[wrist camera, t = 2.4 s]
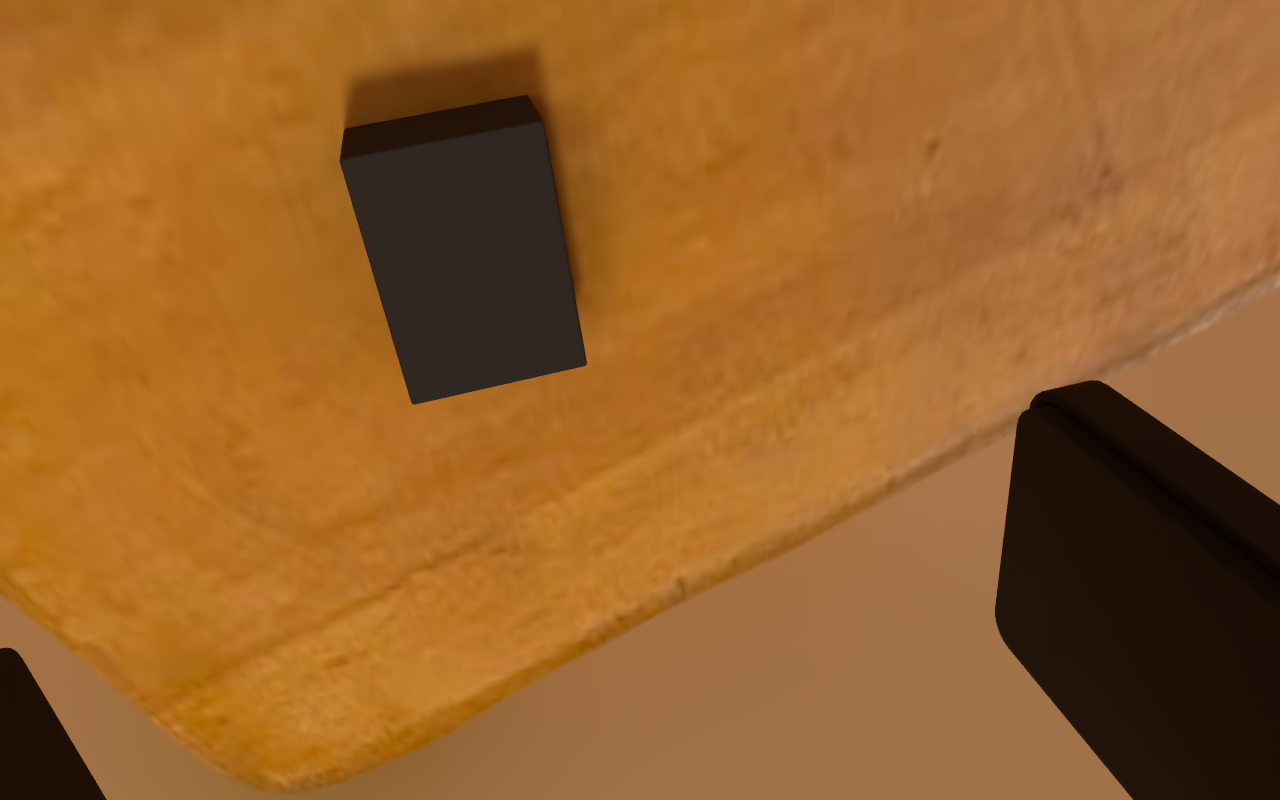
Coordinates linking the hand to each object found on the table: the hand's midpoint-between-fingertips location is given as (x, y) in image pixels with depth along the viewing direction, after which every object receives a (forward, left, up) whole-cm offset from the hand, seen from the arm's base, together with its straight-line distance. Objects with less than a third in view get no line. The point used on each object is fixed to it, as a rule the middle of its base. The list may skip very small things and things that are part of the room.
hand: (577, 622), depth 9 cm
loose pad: (0, +3, -20) cm, 20 cm away
